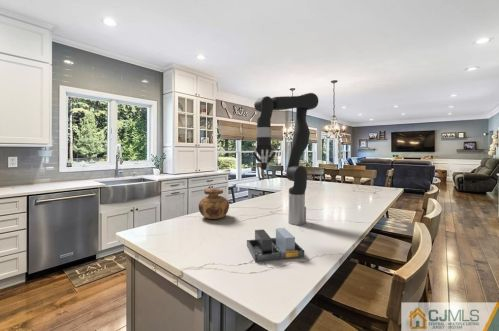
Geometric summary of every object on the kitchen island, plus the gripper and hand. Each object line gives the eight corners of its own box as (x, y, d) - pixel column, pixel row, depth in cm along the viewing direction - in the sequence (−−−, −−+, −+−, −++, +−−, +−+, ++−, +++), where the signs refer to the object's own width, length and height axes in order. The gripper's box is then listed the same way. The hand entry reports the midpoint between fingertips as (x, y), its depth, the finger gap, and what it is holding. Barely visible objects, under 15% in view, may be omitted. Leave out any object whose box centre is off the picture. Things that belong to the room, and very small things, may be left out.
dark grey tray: (289, 242, 113) (289, 226, 112) (304, 257, 97) (304, 238, 96) (246, 245, 109) (246, 229, 108) (255, 262, 93) (255, 243, 92)
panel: (284, 243, 110) (284, 227, 110) (294, 254, 99) (294, 237, 98) (275, 243, 109) (275, 228, 109) (285, 255, 98) (285, 238, 97)
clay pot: (236, 215, 148) (223, 185, 145) (207, 229, 144) (193, 199, 140) (229, 207, 166) (217, 181, 163) (203, 219, 162) (191, 193, 158)
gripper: (273, 137, 132) (273, 169, 133) (249, 136, 129) (249, 169, 130) (278, 136, 124) (278, 170, 125) (252, 136, 121) (253, 170, 123)
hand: (263, 169), depth 128 cm, fingers closed
